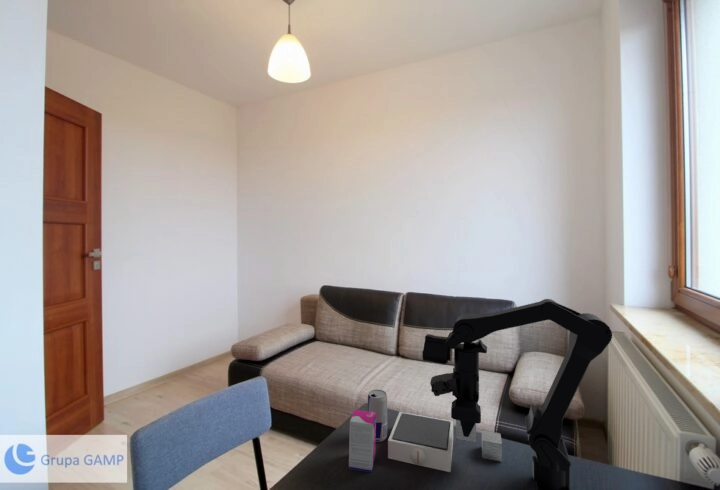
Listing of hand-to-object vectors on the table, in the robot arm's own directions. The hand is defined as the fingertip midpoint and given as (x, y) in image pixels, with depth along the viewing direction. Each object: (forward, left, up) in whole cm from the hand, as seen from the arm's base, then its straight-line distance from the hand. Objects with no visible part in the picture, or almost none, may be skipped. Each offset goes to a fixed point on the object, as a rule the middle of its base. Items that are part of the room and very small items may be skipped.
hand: (466, 430), depth 78 cm
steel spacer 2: (-6, -5, -8) cm, 11 cm away
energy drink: (+23, -3, -8) cm, 25 cm away
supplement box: (+24, +8, -8) cm, 27 cm away
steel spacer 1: (0, 0, -1) cm, 1 cm away
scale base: (+11, -2, -8) cm, 13 cm away
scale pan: (+11, -2, -4) cm, 12 cm away
